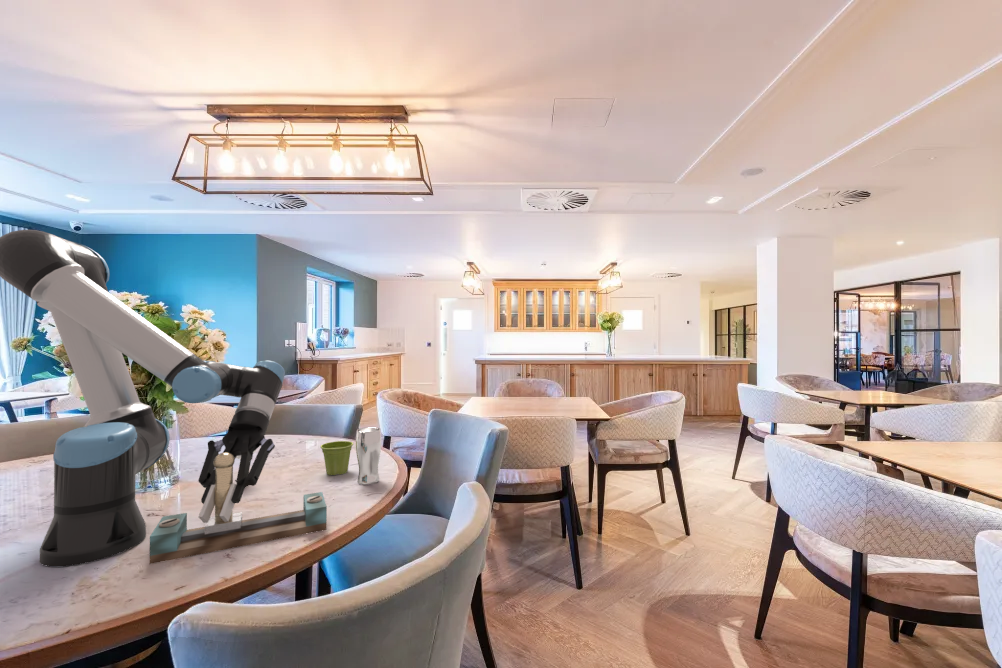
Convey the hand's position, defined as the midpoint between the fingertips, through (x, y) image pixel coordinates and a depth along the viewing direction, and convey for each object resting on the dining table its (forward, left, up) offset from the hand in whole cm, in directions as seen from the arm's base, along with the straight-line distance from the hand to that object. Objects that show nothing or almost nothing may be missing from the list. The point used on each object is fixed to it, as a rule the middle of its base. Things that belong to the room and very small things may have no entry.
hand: (213, 519), depth 82 cm
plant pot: (+27, +41, -6) cm, 49 cm away
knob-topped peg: (+1, +4, -3) cm, 6 cm away
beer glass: (+34, +28, -6) cm, 44 cm away
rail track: (+5, +5, -6) cm, 9 cm away
